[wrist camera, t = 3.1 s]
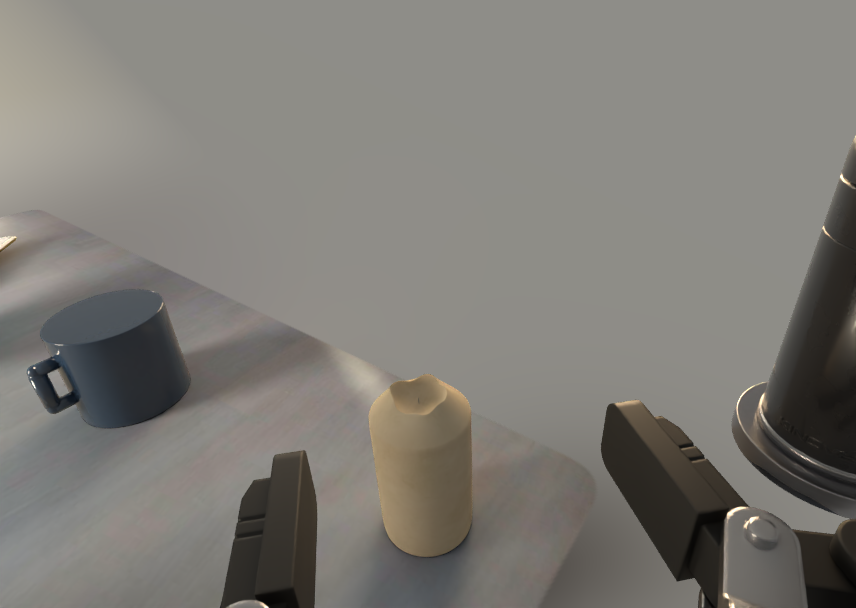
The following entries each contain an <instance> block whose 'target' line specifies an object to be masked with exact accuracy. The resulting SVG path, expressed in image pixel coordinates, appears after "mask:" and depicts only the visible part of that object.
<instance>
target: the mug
mask: <svg viewBox="0 0 856 608" xmlns="http://www.w3.org/2000/svg"><path fill="white" fill-rule="evenodd" d="M40 336H41V339H42V341H43V342H44V344H45V346H46V348H47V350H48V352H49V354H50V356H51V358H48V359H46V360H44V361H41V362H39V363H37V364H35V365H32V366H30V367H29V368H28V369H27V375H28V378H29V381H30V382H31V384H32V386H33V388H34V390H35V391H36V393H37V395H38V397H39V399H40V400H41V402H42V404H43V406H44V407H45V409H47V411H48V412H49V413H51V414H56V413H59V412H61V411H63V410H65V409H67V408H69V407H71V406H72V405H74V404H75V405H76V407H77V409H78V411H79V413H80V415H81V417H82V419H83V420H84V421H85V422H86V423H88V424H89V425H92V426H95V427H99V428H118V427H124V426H129V425H133V424H136V423H140V422H142V421H145V420H148V419H150V418H152V417H154V416H156V415H158V414H160V413H162V412H164V411H165V410H167V409H168V408H170V407H171V406H173V405H174V404H175V403H176V402H177V401H179V400H180V399H181V398H182V396H183V395H184V394H185V393H186V391H187V390H188V388H189V385H190V381H191V378H190V374H189V371H188V368H187V365H186V363H185V360H184V357H183V354H182V351H181V348H180V346H179V343H178V340H177V337H176V334H175V332H174V329H173V326H172V323H171V320H170V318H169V315H168V312H167V309H166V306H165V303H164V301H163V298H162V297H161V296H160V295H159V294H158V293H156V292H153V291H149V290H141V289H132V290H121V291H115V292H110V293H105V294H101V295H97V296H94V297H91V298H88V299H85V300H82V301H80V302H77V303H75V304H73V305H71V306H69V307H67V308H65V309H63V310H61V311H60V312H58V313H56V314H55V315H54V316H52V317H51V318H50V319H49V320H47V321H46V322H45V324H44V325H43V326H42V328H41V331H40ZM55 370H58V372H59V374H60V376H61V378H62V380H63V382H64V383H65V385H66V387H67V389H68V391H69V393H68V394H66V395H64V396H62V397H60V398H59V396H58V394H57V392H56V390H55V388H54V386H53V384H52V382H51V381H50V379H49V377H48V375H47V374H48V373H50V372H52V371H55Z"/></svg>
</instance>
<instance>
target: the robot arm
mask: <svg viewBox="0 0 856 608" xmlns="http://www.w3.org/2000/svg"><path fill="white" fill-rule="evenodd" d="M757 417H758V421H759V423H760V426H761V427H762V429H763V431H764V432H765V434H766V435H767V436H768V437H769V438H770V440H771V441H772V442H773V443H774V444H775V445H777V446H778V447H779V448H780V449H781V450H782V451H784V452H785V453H786V454H788V455H789V456H791V457H792V458H794V459H795V460H797V461H798V462H800V463H802V464H803V465H805V466H807V467H809V468H811V469H813V470H815V471H817V472H819V473H821V474H824V475H826V476H829V477H831V478H834V479H837V480H840V481H843V482H846V483H850V484H854V485H856V136H855V138H854V140H853V143H852V145H851V147H850V149H849V152H848V155H847V158H846V161H845V164H844V167H843V170H842V174H841V176H840V179H839V182H838V185H837V188H836V191H835V194H834V197H833V199H832V202H831V205H830V208H829V211H828V214H827V217H826V219H825V222H824V226H823V229H822V232H821V235H820V237H819V240H818V243H817V246H816V249H815V252H814V254H813V257H812V260H811V263H810V266H809V268H808V272H807V274H806V277H805V280H804V283H803V286H802V288H801V291H800V294H799V297H798V300H797V303H796V305H795V309H794V311H793V314H792V317H791V320H790V322H789V325H788V328H787V331H786V334H785V337H784V339H783V342H782V345H781V348H780V351H779V354H778V357H777V359H776V362H775V365H774V367H773V370H772V373H771V376H770V379H769V381H768V384H767V387H766V390H765V393H764V394H763V395H762V397H761V399H760V402H759V405H758V408H757ZM601 453H602V458H603V461H604V464H605V466H606V468H607V470H608V472H609V473H610V475H611V477H612V478H613V480H614V481H615V483H616V485H617V486H618V488H619V489H620V491H621V492H622V494H623V496H624V497H625V499H626V500H627V502H628V504H629V505H630V507H631V509H632V510H633V512H634V513H635V515H636V517H637V518H638V520H639V521H640V523H641V525H642V526H643V528H644V529H645V531H646V532H647V534H648V536H649V537H650V539H651V540H652V542H653V544H654V545H655V547H656V548H657V550H658V552H659V553H660V555H661V556H662V558H663V560H664V561H665V563H666V564H667V566H668V568H669V569H670V571H671V572H672V574H673V576H674V577H675V578H676V580H677V581H681V580H686V579H692V578H695V579H696V580H697V582H698V584H699V585H700V587H701V590H700V592H699V601H698V608H856V519H850V520H846V521H844V522H842V523H841V524H840V525H839V527H838V529H837V531H836V533H835V534H827V533H817V532H809V531H800V530H794V529H791V528H790V527H789V526H788V525H787V524H786V523H785V522H783V521H782V520H781V519H779V518H778V517H776V516H774V515H773V514H771V513H769V512H766V511H764V510H761V509H757V508H752V507H749V506H748V505H747V504H746V503H745V501H744V500H743V499H742V498H741V497H740V496H739V495H738V494H737V492H736V491H735V490H734V489H733V488H732V487H731V486H730V484H729V483H728V482H727V481H726V480H725V479H724V478H723V476H721V474H720V473H719V472H718V471H717V470H716V468H715V467H714V466H713V465H712V464H711V463H710V462H709V460H708V459H705V458H704V455H703V454H702V452H701V451H700V450H699V449H698V448H697V447H696V446H694V445H693V442H692V441H691V440H690V439H689V438H688V437H687V435H685V433H684V432H683V431H682V430H681V429H680V428H679V427H678V426H676V425H674V424H673V423H671V422H670V421H668V420H667V419H665V418H664V417H662V416H658V417H654V416H653V415H652V414H651V413H650V411H649V410H648V409H647V408H646V407H645V405H644V404H643V403H642V402H641V401H639V400H632V401H626V402H620V403H613V404H609V405H608V407H607V411H606V417H605V424H604V430H603V437H602V443H601ZM316 542H317V502H316V494H315V489H314V485H313V481H312V476H311V472H310V467H309V463H308V459H307V454H306V452H305V450H303V451H297V452H290V453H284V454H277V455H275V456H274V458H273V464H272V471H271V478H265V479H259V480H254V481H253V482H252V484H251V486H250V487H249V489H248V490H247V492H246V493H245V495H244V496H243V498H242V500H241V505H240V511H239V516H238V523H237V526H236V531H235V539H234V541H233V546H232V552H231V557H230V562H229V567H228V572H227V577H226V582H225V588H224V593H223V598H222V602H221V606H220V608H314V605H315V573H316Z"/></svg>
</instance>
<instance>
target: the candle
mask: <svg viewBox="0 0 856 608" xmlns="http://www.w3.org/2000/svg"><path fill="white" fill-rule="evenodd" d="M369 427H370V434H371V440H372V447H373V454H374V461H375V468H376V475H377V482H378V488H379V495H380V502H381V509H382V516H383V521H384V526H385V529H386V532H387V534H388V536H389V538H390V539H391V541H392V542H393V543H394V544H395V545H396V546H397V547H398V548H399V549H401V550H403V551H404V552H406V553H408V554H411V555H415V556H420V557H433V556H438V555H441V554H445V553H447V552H449V551H451V550H452V549H454V548H455V547H457V546H458V545H459V544H460V543H461V542H462V541H463V540H464V538H465V537H466V535H467V534H468V532H469V529H470V526H471V521H472V445H471V409H470V405H469V403H468V401H467V399H466V398H465V397H464V396H463V394H462V393H460V392H459V391H458V390H456V389H455V388H453V387H451V386H450V385H448V384H446V383H444V382H442V381H440V380H439V379H437V378H435V377H434V376H433V375H431V374H425V375H422V376H420V377H418V378H416V379H412V380H408V381H398V382H395V383H393V384H392V385H391V386H390V387H389V388H388V389H387V390H386V391H385V392H384V393H383V394H382V395H380V396H379V397H378V398H377V399H376V400H375V402H374V403H373V405H372V407H371V409H370V412H369Z"/></svg>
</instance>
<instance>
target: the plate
mask: <svg viewBox="0 0 856 608" xmlns="http://www.w3.org/2000/svg"><path fill="white" fill-rule="evenodd" d="M16 238H17V237H13V236H9V237H1V238H0V252H1V251H2V250H4V249H5V248H6V247H8V246H9V245H10V244H11V243H13V242H14V241H15V240H16Z"/></svg>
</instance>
